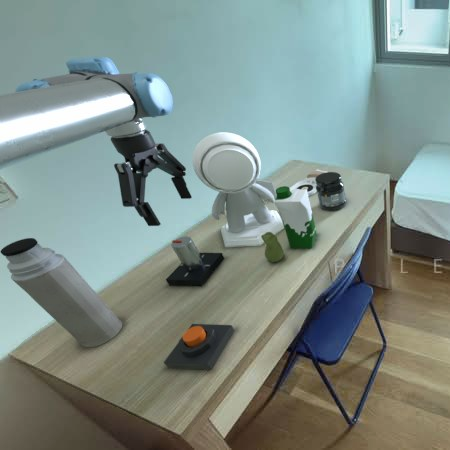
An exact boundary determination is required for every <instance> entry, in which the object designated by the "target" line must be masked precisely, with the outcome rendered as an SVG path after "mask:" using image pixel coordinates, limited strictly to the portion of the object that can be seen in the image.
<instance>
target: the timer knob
mask: <svg viewBox="0 0 450 450" xmlns="http://www.w3.org/2000/svg"><path fill="white" fill-rule="evenodd" d="M170 245H171V248H172V249H173V251H174V253H175V255H177V258H178V259H179V261H180V264H181V263H182V264H183V266H184V268H185V269H186V270H187V271H194V270H197V269H199V268H200V267H202V266H203V264H204V261H203V259H202V257H201V255H200V253H199V252H200V251H199V250H198V248H197V246H196V243H194V241H193V239H192V237H191V236H181V237H178V238H176V239H174V240H172V241H171V244H170Z"/></svg>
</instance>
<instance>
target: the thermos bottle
mask: <svg viewBox="0 0 450 450" xmlns="http://www.w3.org/2000/svg"><path fill="white" fill-rule="evenodd" d="M0 254H1V255H2V256H3V257H5V259H6V260H7V261H8V264H7V265H6V267H7V269H8V270H9V271H8V272H9V273H10V274H11V275H10V279H11V280H12V281H13V282H14V283H15V284H16V285H17V286H18V287H20V288H21V289H22V290H23V291H24V292H25V293H26V294H28V295H29V296H30V298H31V299H32V300H33V301H34V302H35V303H37V305H39V307H41V308H42V309H43V310H44V311H45V312H46V313H47V314H48V315H50V317H52V319H53V320H55V321H56V322H57V323H58V324H59V325H60V326H61V327H62V328H63V329H64V330H66V331H67V332H68V334H70V335H71V336H72V337H73V338H74V339H75V340H76V341H77V342H78V343H79V344H80V345H81V346H83V347H84V348H97V347H98V346H101V345H103V344H105V343H107V342H109V341H110V340H112V339H113V338H115V336H116V335H118V334H119V333H120V331H121V330H122V328H123V322H122V320H120V317H118V316H117V315H116V314H115V312H113V310H111V308H110V307H109V306H108V305H107V303H106V302H104V300H103V299H102V298H101V297H100V296H99V295H98V293H97V292H96V291H95V290H94V289H93V288H92V286H91V285H90V284H89V283H88V282H87V281H86V279H84V278H83V276H82V275H81V274H80V273H79V272H78V270H76V268H75V267H74V266H73V264H72V263H70V262H69V260H68V259H67V258H66V257H65V256H64V255H63V254H60V253H56V251H55V250H53V249H52V248H50V247H43V246H42V245H40V243H39V242H38V240H37V239H36V238H34V237H26V238H21V239H19V240H16V241H13V242H10V243H9V244H7V245H5V246H3V248H1V250H0Z"/></svg>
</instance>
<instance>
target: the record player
mask: <svg viewBox="0 0 450 450" xmlns="http://www.w3.org/2000/svg"><path fill="white" fill-rule="evenodd" d="M326 172H327V171H325V170H320V169H315V170H313V171H311V172H310V173H309V174H307V175H306V178H303V179H300V180H299V181H298V182H296V183H294V184H293V185H292V186H290V187H289V189H307V192H308V197H311V196H313V195H315V193H316V194H317V190H316V185H317V184H316V181H315V179H316V177H317V176H318V175H320V174H322V173H326Z"/></svg>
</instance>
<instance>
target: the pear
mask: <svg viewBox="0 0 450 450" xmlns="http://www.w3.org/2000/svg"><path fill="white" fill-rule="evenodd" d="M261 237H262V239H263V241H264V242H265V243H264V244H265V249H264V257H265V259H266V260H267V261H268V262H271V263H276V262H279V261H280V260H282V259H283V257H284V250H283V246H282V244H281V243H280V242H279V240H278V238H277V236H276V235H274V234H273V233H272V232H266V233H265V234H264V235H262V236H261Z"/></svg>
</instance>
